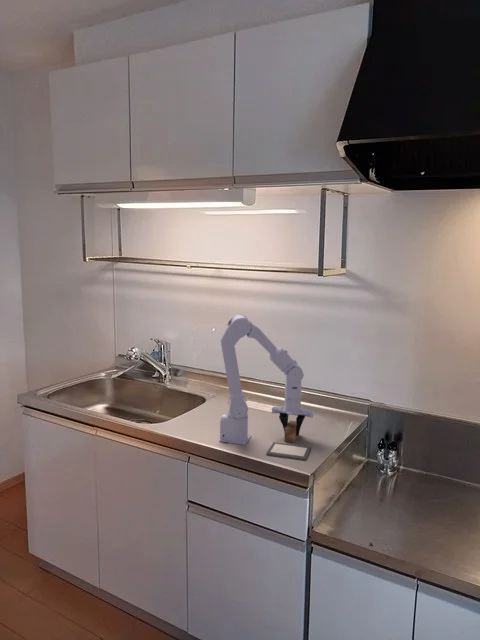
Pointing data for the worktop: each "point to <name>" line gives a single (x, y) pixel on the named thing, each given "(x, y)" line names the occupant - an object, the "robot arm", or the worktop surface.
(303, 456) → the mat
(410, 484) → the worktop surface
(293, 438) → the block
